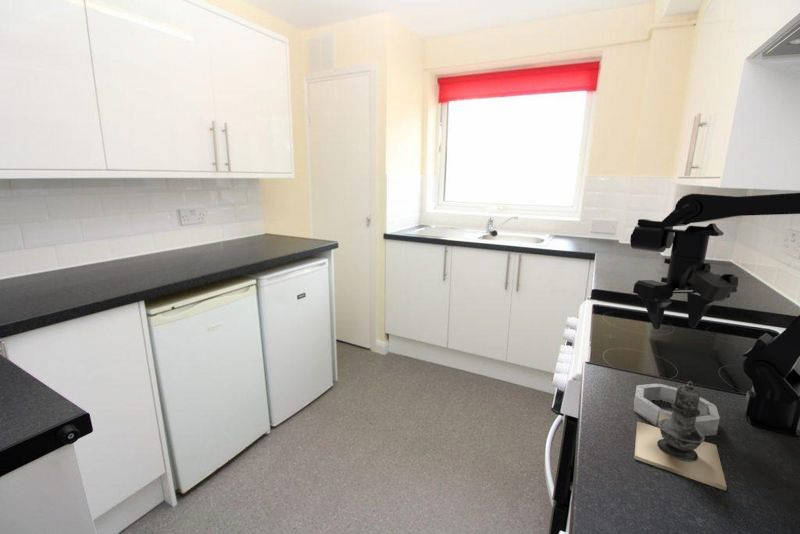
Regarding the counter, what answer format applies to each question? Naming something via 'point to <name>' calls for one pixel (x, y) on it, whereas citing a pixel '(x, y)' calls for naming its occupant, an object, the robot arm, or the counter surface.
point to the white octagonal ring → (654, 414)
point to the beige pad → (699, 470)
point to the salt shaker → (682, 426)
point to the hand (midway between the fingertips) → (674, 328)
